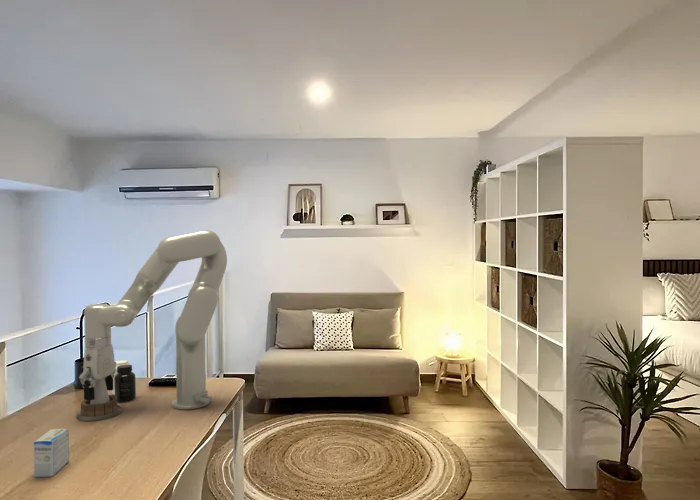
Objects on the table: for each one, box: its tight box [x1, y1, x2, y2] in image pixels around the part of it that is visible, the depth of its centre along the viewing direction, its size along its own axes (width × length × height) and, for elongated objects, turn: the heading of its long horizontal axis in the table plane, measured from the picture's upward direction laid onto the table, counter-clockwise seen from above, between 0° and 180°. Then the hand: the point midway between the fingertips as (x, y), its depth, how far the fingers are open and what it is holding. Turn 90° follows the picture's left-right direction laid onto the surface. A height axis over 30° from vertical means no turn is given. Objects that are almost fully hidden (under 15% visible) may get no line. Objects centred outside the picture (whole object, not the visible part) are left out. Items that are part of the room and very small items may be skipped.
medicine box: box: [33, 428, 70, 478], centre depth 119 cm, size 8×4×9 cm, turn 5°
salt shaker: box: [90, 377, 110, 404], centre depth 157 cm, size 6×6×13 cm
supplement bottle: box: [114, 364, 137, 403], centre depth 171 cm, size 7×7×12 cm
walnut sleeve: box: [76, 394, 123, 423], centre depth 157 cm, size 13×13×4 cm
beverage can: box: [111, 359, 131, 396], centre depth 177 cm, size 6×6×12 cm
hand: (99, 394), depth 157 cm, fingers open, 9 cm apart
